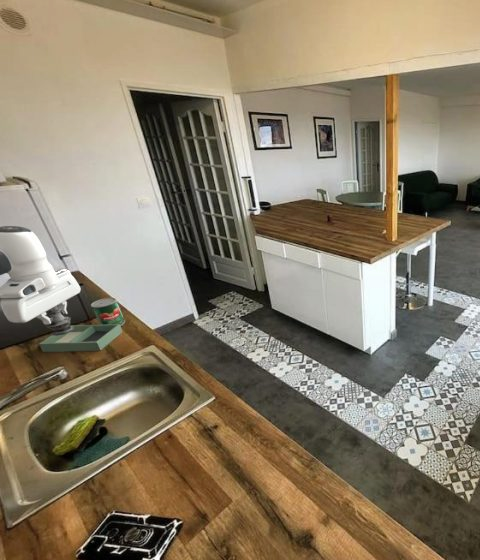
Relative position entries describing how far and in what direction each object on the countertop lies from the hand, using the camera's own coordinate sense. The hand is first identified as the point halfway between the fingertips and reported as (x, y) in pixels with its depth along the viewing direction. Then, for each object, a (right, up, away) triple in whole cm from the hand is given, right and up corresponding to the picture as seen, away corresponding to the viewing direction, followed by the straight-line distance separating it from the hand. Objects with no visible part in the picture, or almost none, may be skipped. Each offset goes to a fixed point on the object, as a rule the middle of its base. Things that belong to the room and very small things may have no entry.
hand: (56, 319), depth 98 cm
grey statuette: (0, -4, +2) cm, 5 cm away
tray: (-14, -12, +23) cm, 29 cm away
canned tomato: (-12, -7, +34) cm, 36 cm away
